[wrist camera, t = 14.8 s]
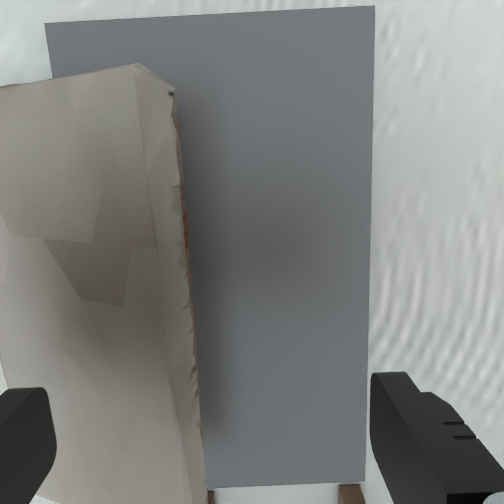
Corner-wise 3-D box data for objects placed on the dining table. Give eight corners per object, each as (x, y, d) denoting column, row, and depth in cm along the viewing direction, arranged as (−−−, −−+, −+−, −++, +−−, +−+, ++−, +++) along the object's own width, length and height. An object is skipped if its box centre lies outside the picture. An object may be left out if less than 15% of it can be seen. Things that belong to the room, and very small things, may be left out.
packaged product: (233, 79, 14) (48, 104, 18) (135, 52, 10) (-73, 92, 14) (251, 493, 18) (100, 431, 23) (190, 597, 14) (20, 495, 19)
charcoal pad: (369, 12, 17) (374, 5, 16) (361, 470, 23) (365, 481, 22) (53, 29, 17) (44, 23, 16) (122, 481, 23) (117, 492, 22)
